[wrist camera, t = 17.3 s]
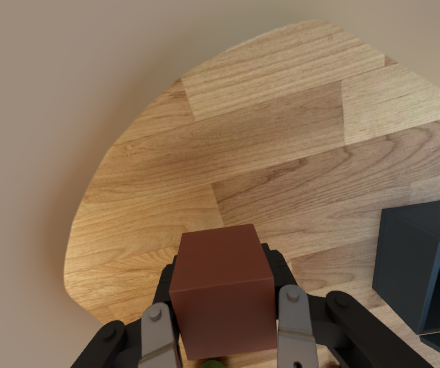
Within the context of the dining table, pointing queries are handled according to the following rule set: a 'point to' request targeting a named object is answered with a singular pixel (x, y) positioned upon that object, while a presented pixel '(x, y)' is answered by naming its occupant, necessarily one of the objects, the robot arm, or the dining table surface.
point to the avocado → (212, 364)
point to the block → (223, 293)
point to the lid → (431, 340)
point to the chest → (410, 264)
